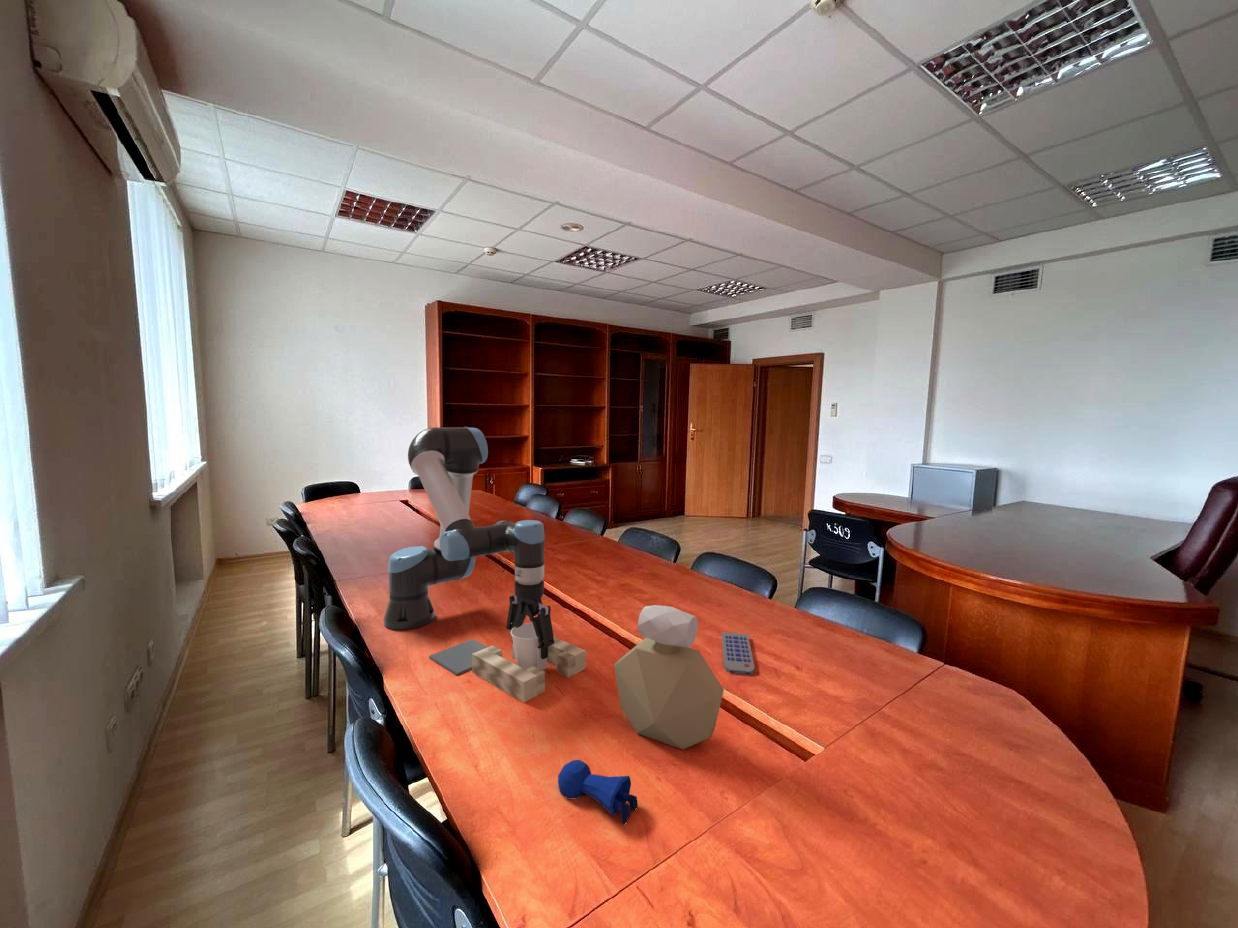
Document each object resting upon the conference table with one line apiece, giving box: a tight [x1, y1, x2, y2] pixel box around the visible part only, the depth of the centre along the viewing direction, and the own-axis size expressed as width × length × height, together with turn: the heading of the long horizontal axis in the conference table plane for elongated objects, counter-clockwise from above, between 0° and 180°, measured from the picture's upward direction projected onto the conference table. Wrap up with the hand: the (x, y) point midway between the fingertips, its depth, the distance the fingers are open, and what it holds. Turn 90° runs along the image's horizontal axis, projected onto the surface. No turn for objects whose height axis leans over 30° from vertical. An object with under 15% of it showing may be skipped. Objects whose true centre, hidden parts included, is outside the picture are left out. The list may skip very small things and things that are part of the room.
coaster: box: [428, 638, 488, 676], centre depth 136 cm, size 14×14×1 cm
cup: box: [510, 622, 544, 670], centre depth 129 cm, size 10×10×11 cm
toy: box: [557, 759, 639, 825], centre depth 86 cm, size 7×6×15 cm
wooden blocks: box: [471, 636, 587, 703], centre depth 129 cm, size 21×21×5 cm
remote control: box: [721, 631, 755, 676], centre depth 140 cm, size 8×23×2 cm, turn 170°
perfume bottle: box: [613, 604, 725, 750], centre depth 103 cm, size 12×24×28 cm, turn 61°
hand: (529, 662), depth 129 cm, fingers closed on cup, 9 cm apart
